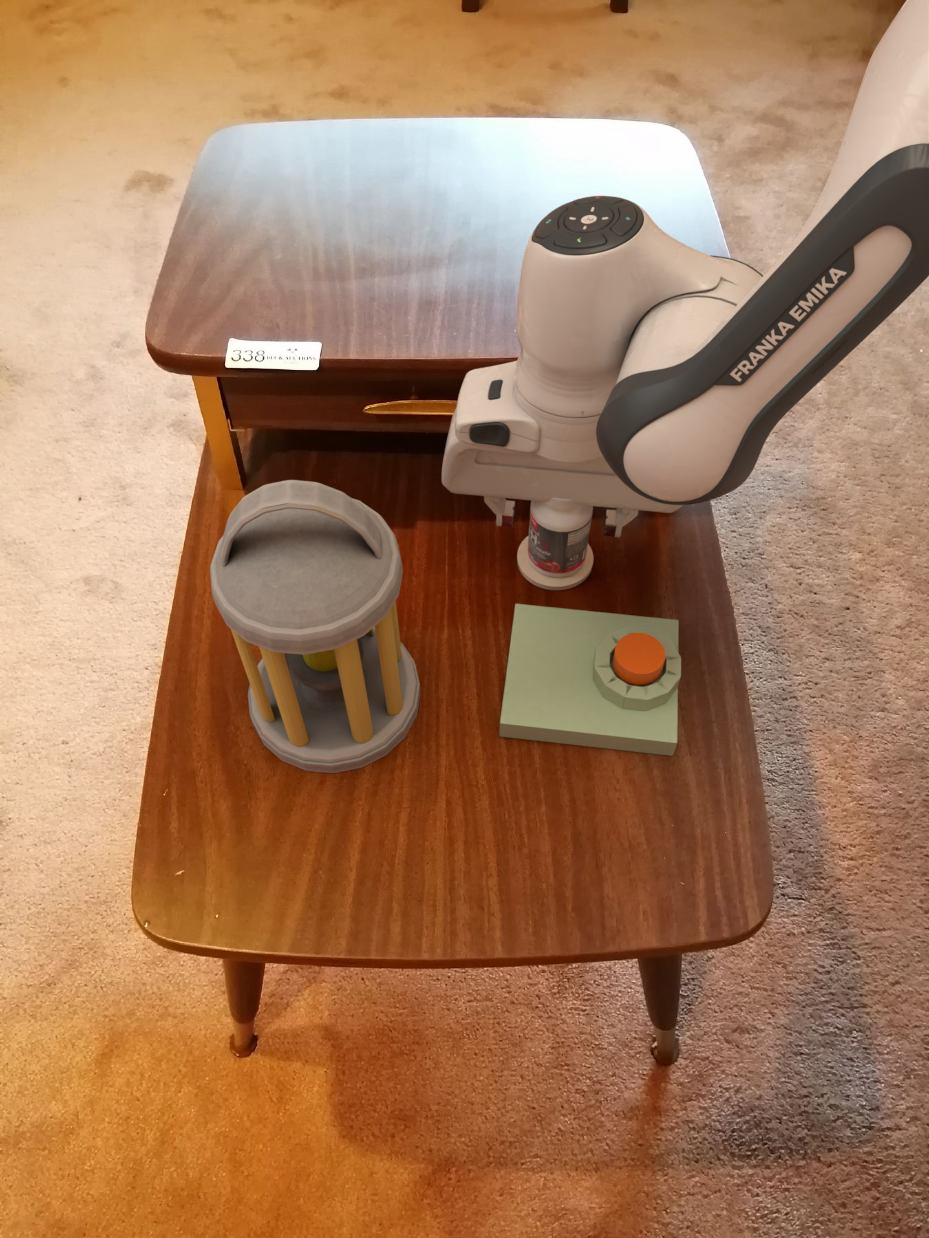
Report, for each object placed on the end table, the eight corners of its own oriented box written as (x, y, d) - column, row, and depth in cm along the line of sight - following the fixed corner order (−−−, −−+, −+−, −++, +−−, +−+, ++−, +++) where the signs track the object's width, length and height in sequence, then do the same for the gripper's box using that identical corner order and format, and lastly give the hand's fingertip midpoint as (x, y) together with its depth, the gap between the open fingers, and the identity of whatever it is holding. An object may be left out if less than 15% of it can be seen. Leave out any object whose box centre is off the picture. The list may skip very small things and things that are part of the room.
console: (674, 634, 86) (682, 607, 83) (673, 756, 79) (681, 731, 76) (514, 618, 87) (516, 590, 84) (499, 736, 80) (500, 711, 77)
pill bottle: (514, 557, 90) (518, 482, 82) (553, 525, 93) (560, 449, 85) (559, 589, 88) (567, 516, 80) (598, 556, 90) (609, 481, 82)
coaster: (595, 535, 93) (595, 531, 92) (590, 594, 89) (591, 590, 88) (520, 528, 93) (521, 524, 93) (513, 586, 89) (513, 582, 89)
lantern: (418, 623, 87) (399, 408, 66) (423, 768, 78) (403, 572, 58) (256, 632, 86) (188, 418, 66) (244, 778, 78) (161, 584, 58)
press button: (662, 647, 81) (666, 634, 79) (661, 688, 78) (665, 676, 77) (613, 642, 81) (616, 629, 80) (611, 682, 79) (613, 671, 77)
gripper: (706, 390, 77) (677, 510, 88) (446, 370, 78) (450, 490, 90) (707, 447, 73) (677, 565, 84) (435, 424, 75) (440, 542, 86)
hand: (558, 526), depth 87 cm, fingers open, 8 cm apart
